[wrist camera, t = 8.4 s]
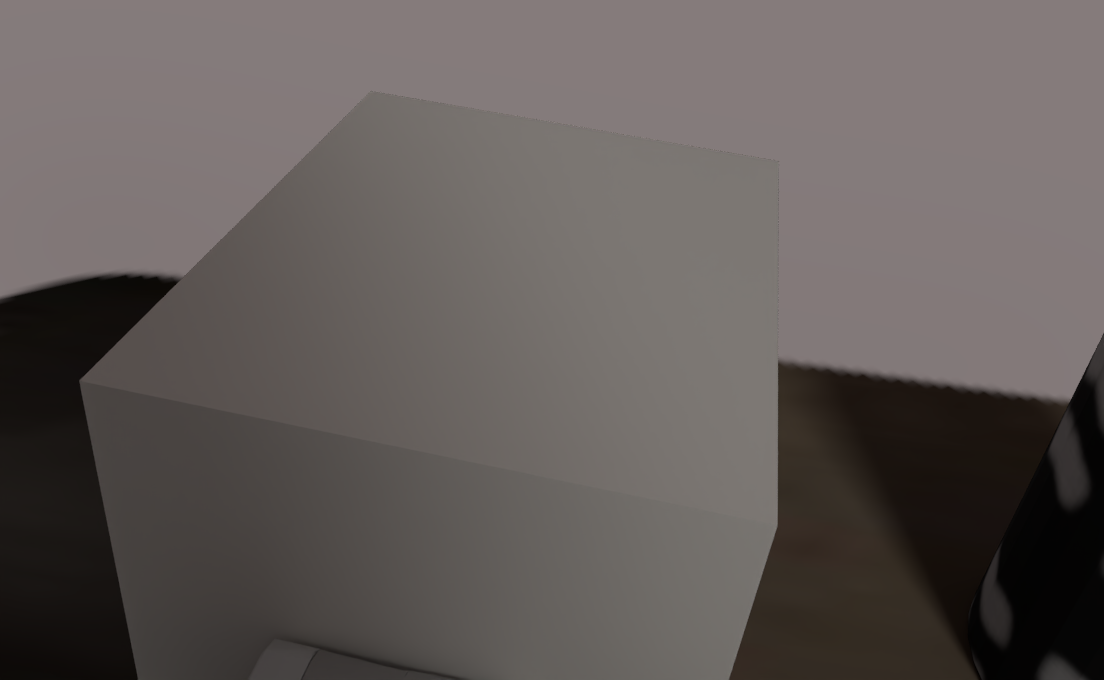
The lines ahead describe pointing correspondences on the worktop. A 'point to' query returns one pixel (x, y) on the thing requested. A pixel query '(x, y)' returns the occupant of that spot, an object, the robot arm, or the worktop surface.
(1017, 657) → the white-spotted black cylinder
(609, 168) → the notched block
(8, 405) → the worktop surface
